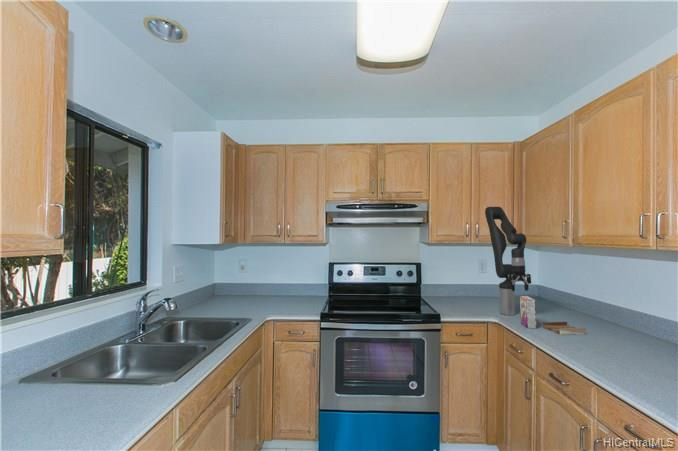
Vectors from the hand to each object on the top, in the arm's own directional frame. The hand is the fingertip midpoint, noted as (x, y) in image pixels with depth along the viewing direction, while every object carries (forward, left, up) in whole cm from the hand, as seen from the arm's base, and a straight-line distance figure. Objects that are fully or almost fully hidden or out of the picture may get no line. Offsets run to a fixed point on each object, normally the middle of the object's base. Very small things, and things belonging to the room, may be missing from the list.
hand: (519, 290), depth 204 cm
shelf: (+25, +8, -18) cm, 32 cm away
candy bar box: (+14, -5, -18) cm, 24 cm away
